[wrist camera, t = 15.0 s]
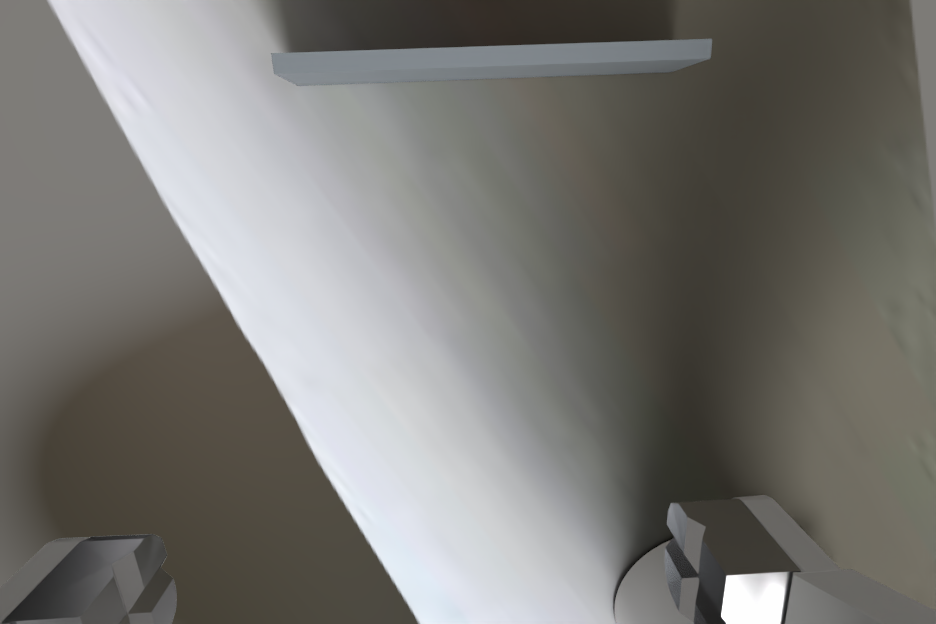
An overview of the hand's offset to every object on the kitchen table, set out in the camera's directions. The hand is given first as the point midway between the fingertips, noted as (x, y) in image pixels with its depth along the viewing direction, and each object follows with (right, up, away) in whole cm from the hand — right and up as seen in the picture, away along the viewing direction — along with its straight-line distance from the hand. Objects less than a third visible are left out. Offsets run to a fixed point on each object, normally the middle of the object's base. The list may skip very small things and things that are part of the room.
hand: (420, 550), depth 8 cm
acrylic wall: (+2, +19, +24) cm, 31 cm away
